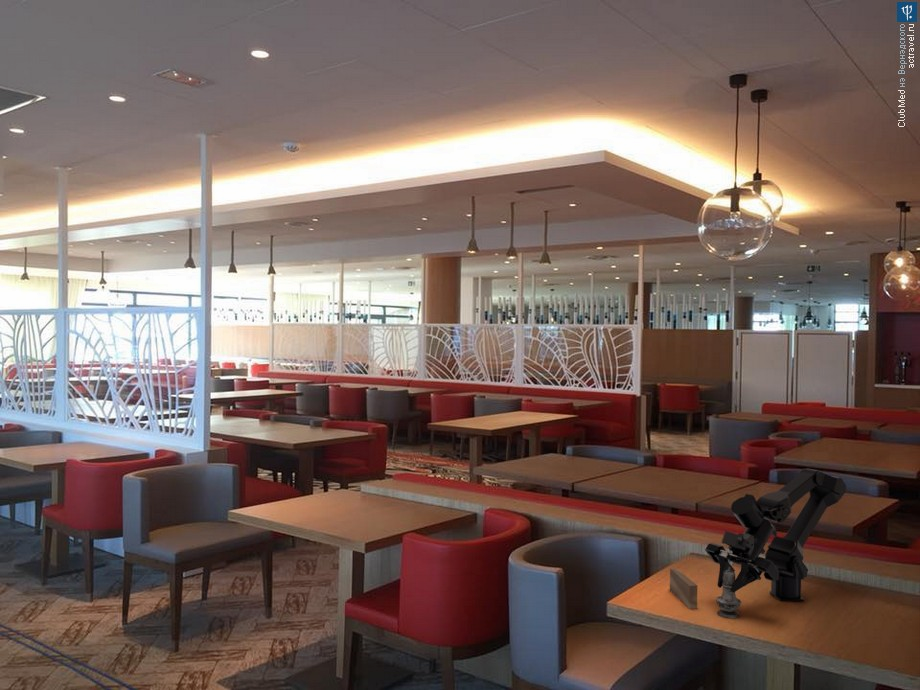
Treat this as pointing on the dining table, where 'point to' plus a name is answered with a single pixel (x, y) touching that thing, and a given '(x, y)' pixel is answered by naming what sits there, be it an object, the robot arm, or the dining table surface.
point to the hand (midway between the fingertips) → (725, 589)
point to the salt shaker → (728, 597)
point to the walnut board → (683, 588)
